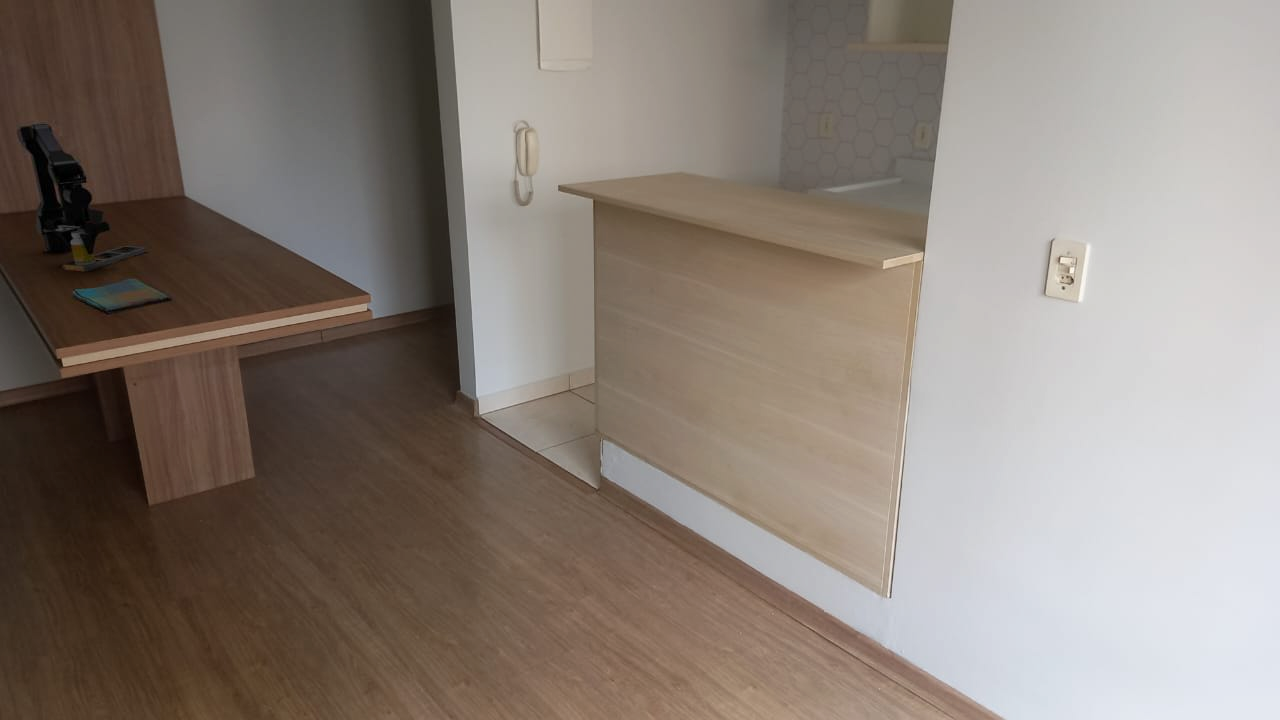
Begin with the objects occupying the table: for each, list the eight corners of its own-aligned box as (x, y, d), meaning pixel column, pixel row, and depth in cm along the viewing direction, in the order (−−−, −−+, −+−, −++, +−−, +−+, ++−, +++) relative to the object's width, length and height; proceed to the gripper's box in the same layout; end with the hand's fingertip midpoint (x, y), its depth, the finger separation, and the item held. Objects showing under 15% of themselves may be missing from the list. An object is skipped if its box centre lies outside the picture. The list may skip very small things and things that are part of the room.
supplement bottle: (86, 266, 271) (79, 234, 267) (71, 265, 272) (63, 233, 268) (99, 261, 276) (93, 230, 272) (84, 260, 277) (77, 229, 273)
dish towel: (138, 285, 259) (136, 276, 258) (174, 301, 245) (172, 292, 244) (72, 298, 247) (70, 289, 246) (106, 316, 232) (104, 307, 231)
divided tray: (63, 269, 271) (62, 264, 271) (125, 250, 293) (124, 245, 292) (86, 271, 269) (85, 266, 269) (147, 252, 291) (146, 247, 290)
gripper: (119, 199, 272) (129, 249, 278) (69, 195, 277) (80, 245, 282) (88, 206, 262) (100, 258, 268) (37, 202, 267) (50, 253, 272)
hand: (83, 253), depth 273 cm, fingers closed on supplement bottle, 5 cm apart
